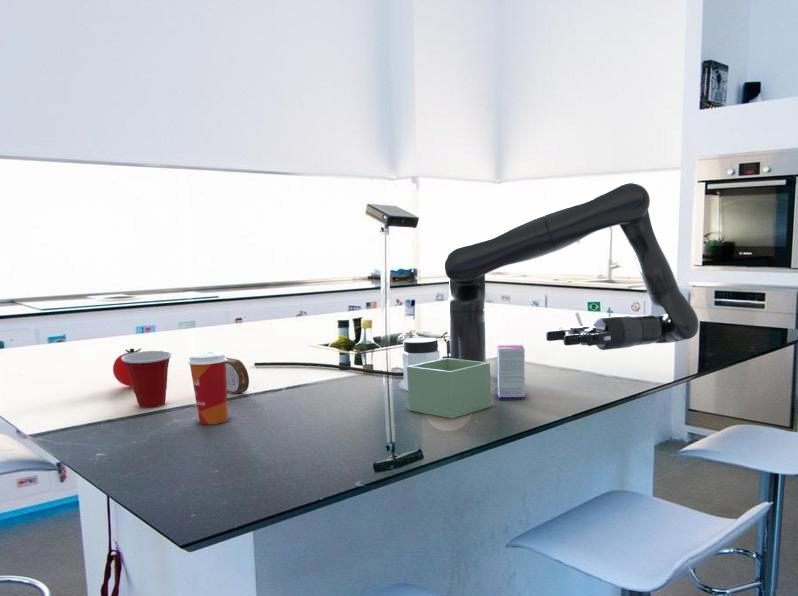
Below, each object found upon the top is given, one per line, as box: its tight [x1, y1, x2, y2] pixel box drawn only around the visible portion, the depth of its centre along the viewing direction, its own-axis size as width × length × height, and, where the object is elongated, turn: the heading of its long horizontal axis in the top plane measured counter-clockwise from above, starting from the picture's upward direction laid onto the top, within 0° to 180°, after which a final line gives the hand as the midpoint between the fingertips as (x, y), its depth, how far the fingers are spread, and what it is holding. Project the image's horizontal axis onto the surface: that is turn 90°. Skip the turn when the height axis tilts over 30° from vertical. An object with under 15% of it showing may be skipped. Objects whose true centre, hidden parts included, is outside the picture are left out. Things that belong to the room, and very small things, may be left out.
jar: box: [402, 337, 441, 392], centre depth 180 cm, size 9×8×12 cm
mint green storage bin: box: [407, 358, 492, 419], centre depth 160 cm, size 12×12×10 cm
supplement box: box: [497, 344, 525, 401], centre depth 168 cm, size 6×6×12 cm
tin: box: [225, 356, 250, 395], centre depth 187 cm, size 15×3×8 cm, turn 47°
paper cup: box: [187, 351, 229, 425], centre depth 156 cm, size 8×8×14 cm
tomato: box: [112, 347, 143, 387], centre depth 199 cm, size 10×10×10 cm
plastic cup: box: [121, 350, 172, 408], centre depth 174 cm, size 11×11×12 cm
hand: (555, 338), depth 171 cm, fingers open, 8 cm apart
